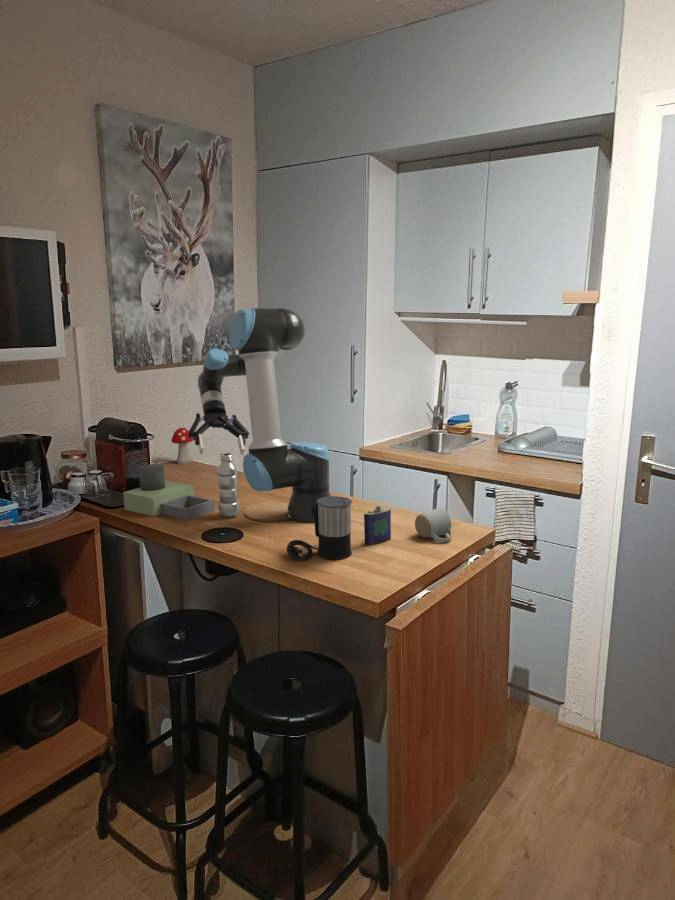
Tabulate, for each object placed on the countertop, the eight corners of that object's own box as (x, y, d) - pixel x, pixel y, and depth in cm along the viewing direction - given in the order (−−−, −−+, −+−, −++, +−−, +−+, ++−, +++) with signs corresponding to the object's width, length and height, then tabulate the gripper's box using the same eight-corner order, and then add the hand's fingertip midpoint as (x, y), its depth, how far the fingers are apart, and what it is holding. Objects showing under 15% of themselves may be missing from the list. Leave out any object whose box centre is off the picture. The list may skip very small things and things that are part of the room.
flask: (387, 536, 193) (387, 500, 190) (394, 539, 190) (394, 503, 188) (362, 544, 187) (362, 507, 185) (369, 546, 185) (368, 509, 183)
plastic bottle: (236, 511, 218) (234, 451, 213) (241, 517, 211) (238, 455, 207) (217, 514, 215) (213, 453, 211) (221, 520, 209) (218, 457, 205)
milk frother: (359, 553, 180) (359, 500, 177) (318, 570, 169) (317, 514, 166) (320, 541, 190) (319, 490, 186) (279, 557, 178) (278, 503, 175)
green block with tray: (221, 507, 222) (219, 469, 219) (181, 522, 207) (178, 482, 204) (165, 496, 236) (163, 460, 233) (124, 509, 221) (121, 471, 218)
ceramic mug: (412, 534, 194) (413, 509, 192) (434, 529, 198) (435, 504, 196) (436, 546, 185) (437, 519, 183) (459, 540, 189) (460, 514, 188)
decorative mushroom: (184, 459, 293) (182, 425, 290) (199, 461, 289) (197, 426, 286) (168, 463, 285) (165, 429, 281) (183, 466, 280) (181, 430, 277)
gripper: (246, 415, 241) (256, 459, 228) (175, 413, 231) (182, 458, 218) (250, 400, 236) (261, 444, 223) (178, 397, 226) (185, 443, 213)
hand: (222, 451), depth 220 cm, fingers open, 13 cm apart
